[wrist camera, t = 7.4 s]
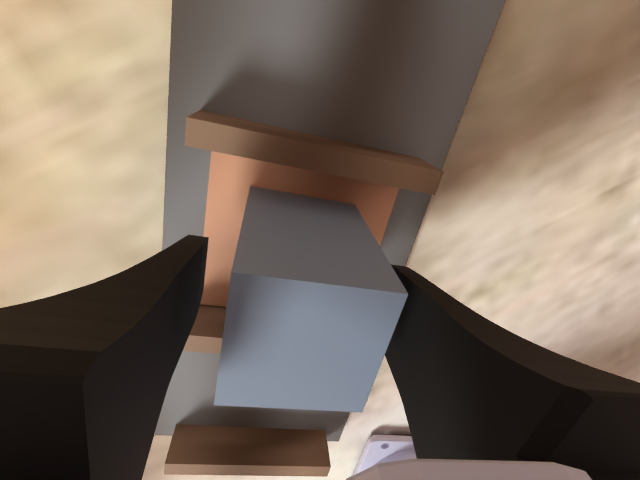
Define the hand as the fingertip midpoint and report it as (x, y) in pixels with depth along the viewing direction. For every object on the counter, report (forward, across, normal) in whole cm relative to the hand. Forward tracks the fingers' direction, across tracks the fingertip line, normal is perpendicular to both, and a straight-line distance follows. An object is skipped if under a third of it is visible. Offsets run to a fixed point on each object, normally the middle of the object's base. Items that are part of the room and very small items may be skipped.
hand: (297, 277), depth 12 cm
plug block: (+2, 0, 0) cm, 2 cm away
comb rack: (+3, 0, 0) cm, 3 cm away
